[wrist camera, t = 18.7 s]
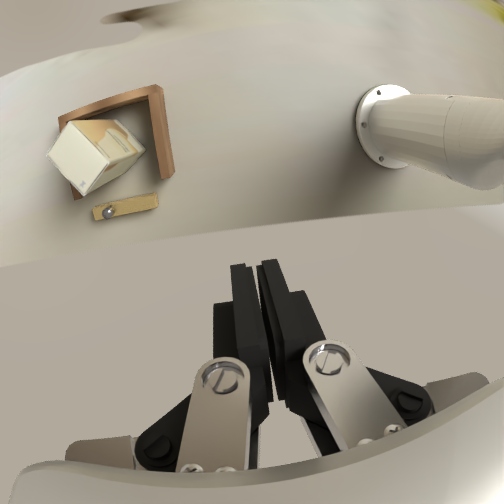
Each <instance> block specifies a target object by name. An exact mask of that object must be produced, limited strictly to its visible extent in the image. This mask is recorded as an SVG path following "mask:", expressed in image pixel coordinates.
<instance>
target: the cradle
mask: <svg viewBox="0 0 504 504" xmlns="http://www.w3.org/2000/svg"><path fill="white" fill-rule="evenodd" d="M148 99H149V106H150V113H151V120H152V127H153V134H154V140H155V146H156V152H157V158H158V163H159V169H160V174H161V179H166V178H170V177H171V176H172V175H173V173H174V172H175V168H174V162H173V156H172V150H171V144H170V137H169V131H168V124H167V117H166V110H165V102H164V94H163V88H161V87H160V86H158V85H156V84H155V85H151V86H147V87H143V88H139V89H136V90H132V91H129V92H125V93H122V94H119V95H115V96H112V97H109V98H106V99H103V100H100V101H97V102H95V103H92V104H89V105H87V106H84V107H81V108H79V109H76V110H74V111H71V112H69V113H67V114H64V115H62V116H60V117H58V121H59V128H60V133H61V131H62V130H63V129H64V127H65V126H66V125H67V123H68V122H69V121H76V120H83V119H86V118H89V117H91V116H94V115H97V114H100V113H103V112H106V111H109V110H112V109H115V108H119V107H122V106H126V105H129V104H133V103H136V102H140V101H144V100H148ZM70 185H71V189H72V193H73V196H74V200H78V199H81V198H82V197H84V196H83V195H82V194H81V193H80V192H79V191H78V190H77V189H76V188H75V187H74V186H73V185H72V184H71V183H70Z"/></svg>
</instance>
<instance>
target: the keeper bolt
mask: <svg viewBox="0 0 504 504" xmlns="http://www.w3.org/2000/svg"><path fill="white" fill-rule="evenodd" d="M158 204H159V203H158V199H157V194H156V193H151V194H146V195H142V196H137V197H132V198H128V199H123V200H119V201H115V202H110V203H106V204H102V205H98V206H96V207H95V208H93V209H92V211H93V214H94V218H95V221H96V220H100V219H110V218H111V217H114V216H118V215H123V214H128V213H133V212H138V211H143V210H148V209H153V208H156V207H157V206H158Z"/></svg>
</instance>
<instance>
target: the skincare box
mask: <svg viewBox="0 0 504 504" xmlns="http://www.w3.org/2000/svg"><path fill="white" fill-rule="evenodd" d="M145 150H146V149H145V147H144V146H143V145H142V144H141V143H140V142H139V141H138V140H137V139H136V138H135V137H134V136H133V135H132V134H131V133H130V132H129V131H128V130H127V129H126V128H125V127H124V126H123V125H122V124H121V123H120V122H119V121H118V120H76V121H69V122H68V123H67V125H66V126H65V127H64V129H63V130H62V131H61V133H60V134H59V135H58V137H57V138H56V140H55V141H54V143H53V144H52V146H51V147H50V149H49V150H48V152H47V154H46V155H47V157H48V158H49V160H50V161H51V162H52V163H53V164H54V165H55V166H56V167H57V169H58V170H59V171H60V172H61V173H62V175H63V176H64V177H65V178H66V179H67V180H69V182H70V183H71V184H72V185H73V186H74V187H75V188H76V189H77V190H78V191H79V192H80V193H81V194H82V195H83V196H85V195H87V194H88V193H90V192H92V191H93V190H95V189H97V188H98V187H100V186H102V185H104V184H106V183H107V182H109V181H111V180H113V179H114V178H116V177H118V176H120V175H122V174H124V173H125V172H126V171H127V170H128V169H129V168H130V167H131V166H132V165H133V164H134V163H135V162H136V161H137V160H138V159H139V157H140V156H141V155H142V154H143V153H144V152H145Z"/></svg>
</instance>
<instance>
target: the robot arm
mask: <svg viewBox="0 0 504 504" xmlns="http://www.w3.org/2000/svg"><path fill="white" fill-rule="evenodd" d="M376 93H377V94H376ZM361 123H362V126H361ZM356 130H357V135H358V138H359V141H360V144H361V145H362V147H363V149H364V151H365V152H366V153H367V155H368V156H369V157H370V158H371V159H372V160H373V161H375V162H376V163H378V164H380V165H382V166H384V167H387V168H392V169H399V168H403V167H406V166H408V165H410V164H411V165H414V166H417V167H420V168H423V169H425V170H428V171H431V172H434V173H436V174H439V175H441V176H444V177H446V178H449V179H451V180H454V181H456V182H458V183H461V184H463V185H466V186H468V187H470V188H473V189H476V190H491V189H494V188H497V187H499V186H501V185H502V184H504V99H498V98H486V97H475V96H461V95H444V94H411V93H409V92H408V91H407V90H406V89H404V88H402V87H400V86H396V85H390V84H385V85H379V86H376V87H374V88H372V89H371V90H369V91H368V92H367V93H366V94H365V95H364V96H363V98H362V100H361V101H360V103H359V106H358V109H357V114H356ZM256 268H257V277H258V285H259V294H260V303H261V308H260V304H259V299H258V294H257V290H256V285H255V280H254V275H253V270H252V267H246V265H245V263H244V264H237V265H231V266H230V269H231V282H232V294H233V301H230V302H223V303H216V304H214V307H213V360H210V361H208V362H207V363H205V364H204V365H203V366H202V367H201V368H200V369H199V370H198V373H197V375H196V377H195V382H194V387H193V391H192V393H191V394H190V395H189V396H187V397H186V398H185V399H184V400H183V401H182V402H180V403H179V404H178V405H177V406H176V407H174V408H173V409H172V410H171V411H169V412H168V413H167V414H166V415H165V416H163V417H162V418H161V419H159V420H158V421H157V422H156V423H154V424H153V425H152V426H151V427H149V428H148V429H147V430H146V431H144V432H143V433H142V434H141V435H140V436H139V437H135V438H132V437H131V436H130V435H129V436H123V437H114V438H104V439H93V440H80V441H76V442H74V443H72V444H71V445H69V447H68V449H67V450H66V455H65V461H62V460H55V461H45V462H40V463H36V464H33V465H30V466H27V467H26V468H24V469H23V470H22V471H21V472H20V473H19V475H18V476H17V478H16V480H15V482H14V485H13V488H12V491H11V495H10V499H9V504H504V377H503V378H501V379H498V380H496V381H494V382H492V383H489V382H488V380H487V378H486V377H485V376H483V375H482V374H480V373H477V372H472V373H467V374H464V375H460V376H456V377H452V378H448V379H444V380H439V381H434V382H429V383H427V384H426V386H423V387H421V386H419V385H417V384H415V383H412V382H408V381H405V380H403V379H400V378H397V377H394V376H391V375H388V374H384V373H382V372H379V371H376V370H373V369H371V368H368V367H365V366H364V365H363V363H362V362H361V361H360V359H359V358H358V356H357V355H356V354H355V352H354V351H353V350H352V349H351V348H350V347H349V346H348V345H347V344H345V343H342V342H340V341H336V340H326V338H325V335H324V333H323V331H322V329H321V326H320V324H319V322H318V320H317V317H316V315H315V313H314V311H313V308H312V306H311V304H310V302H309V300H308V297H307V295H306V293H305V291H303V290H301V291H295V292H289V290H288V287H287V284H286V281H285V279H284V276H283V274H282V271H281V269H280V266H279V263H278V261H277V259H271V260H264V261H262V265H258V266H256ZM269 357H270V359H269ZM270 362H271V367H272V372H273V376H274V381H275V386H276V391H277V395H278V399H279V401H280V400H285V404H286V408H289V409H290V411H291V412H293V413H295V414H297V415H299V416H300V418H301V422H302V424H303V426H304V428H305V430H306V432H307V435H308V437H309V439H310V441H311V443H312V445H313V447H314V449H315V451H316V454H317V456H318V458H315V459H311V460H306V461H302V462H297V463H292V464H287V465H281V466H275V467H268V468H261V469H259V459H260V431H261V427H260V424H261V423H262V422H263V421H264V420H265V419H266V418H267V416H268V415H269V407H268V402H273V401H274V400H273V389H272V381H271V380H272V379H271V369H270Z"/></svg>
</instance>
